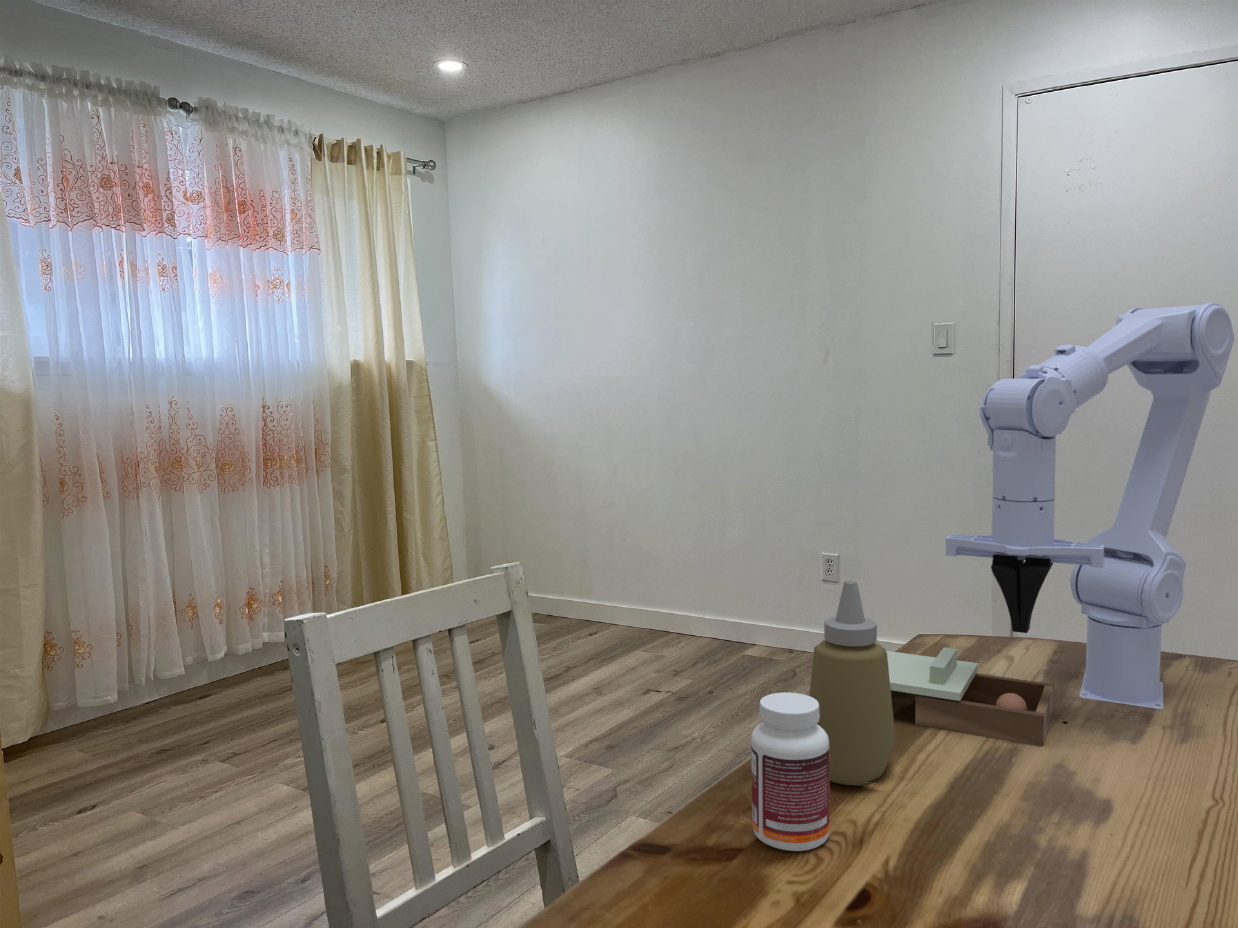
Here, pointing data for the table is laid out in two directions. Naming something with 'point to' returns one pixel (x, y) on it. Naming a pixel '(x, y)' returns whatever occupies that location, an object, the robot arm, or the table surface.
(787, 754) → the pill bottle
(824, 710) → the squeeze bottle
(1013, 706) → the ball
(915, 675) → the lid
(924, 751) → the table surface
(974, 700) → the walnut box
